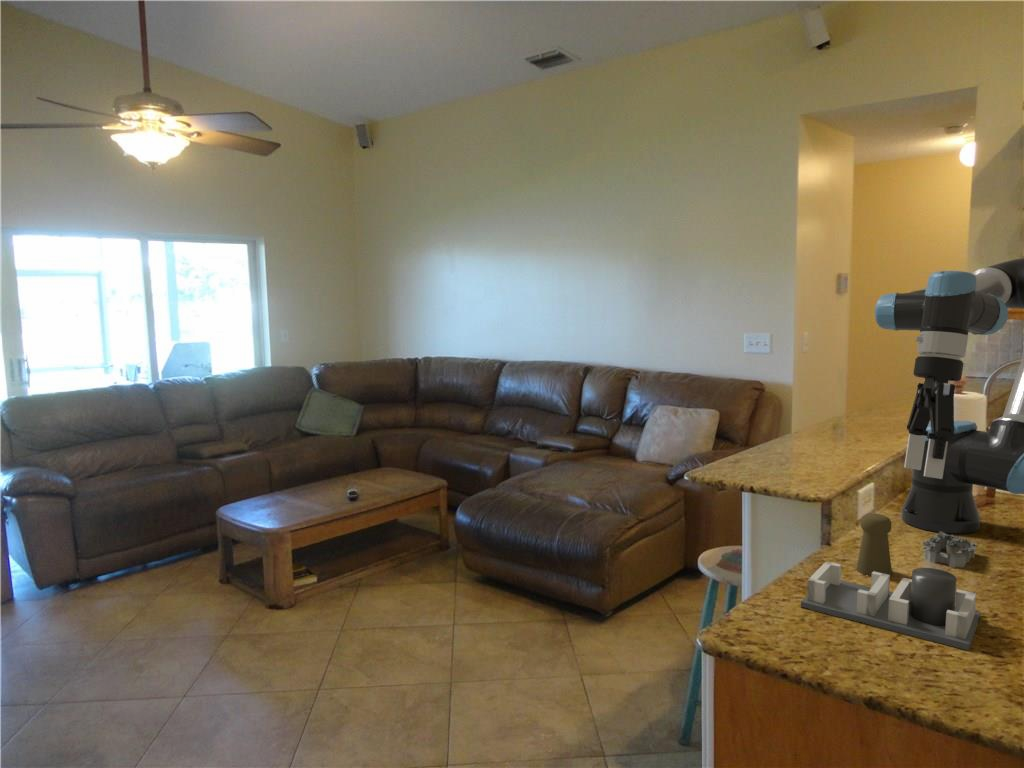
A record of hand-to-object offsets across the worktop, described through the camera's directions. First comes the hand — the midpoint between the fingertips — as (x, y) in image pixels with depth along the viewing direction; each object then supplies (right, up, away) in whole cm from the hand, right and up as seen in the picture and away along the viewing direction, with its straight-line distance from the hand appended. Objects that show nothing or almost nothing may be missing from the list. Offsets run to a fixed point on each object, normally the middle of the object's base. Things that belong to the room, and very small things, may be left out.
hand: (922, 473), depth 127 cm
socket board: (-12, -22, -12) cm, 28 cm away
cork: (-6, -19, +5) cm, 21 cm away
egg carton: (+12, -18, +11) cm, 24 cm away
